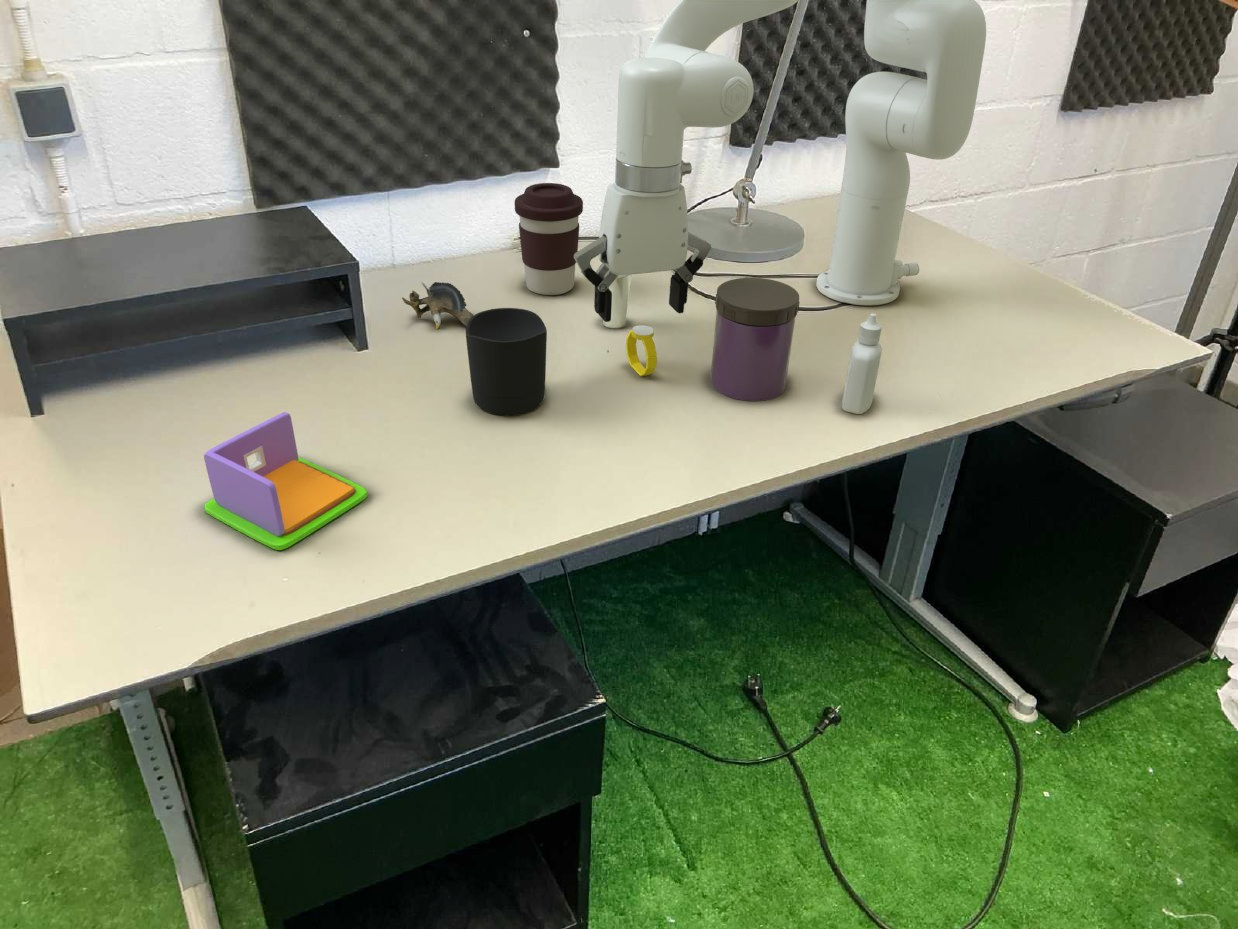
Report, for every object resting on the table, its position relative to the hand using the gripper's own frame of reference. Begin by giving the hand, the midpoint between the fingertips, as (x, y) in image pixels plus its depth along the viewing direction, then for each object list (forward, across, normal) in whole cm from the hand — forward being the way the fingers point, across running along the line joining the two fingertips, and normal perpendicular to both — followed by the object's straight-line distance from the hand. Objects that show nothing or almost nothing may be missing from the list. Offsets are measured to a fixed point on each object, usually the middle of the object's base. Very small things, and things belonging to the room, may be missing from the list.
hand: (640, 313), depth 120 cm
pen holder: (+9, +18, +2) cm, 20 cm away
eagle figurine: (+9, +20, -22) cm, 31 cm away
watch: (+8, 0, 0) cm, 8 cm away
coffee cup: (+8, +2, -30) cm, 31 cm away
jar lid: (-4, -12, +7) cm, 15 cm away
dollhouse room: (+9, +44, +16) cm, 48 cm away
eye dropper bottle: (+8, -23, +16) cm, 29 cm away
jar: (+8, -12, +7) cm, 16 cm away
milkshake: (+8, -2, -15) cm, 17 cm away
